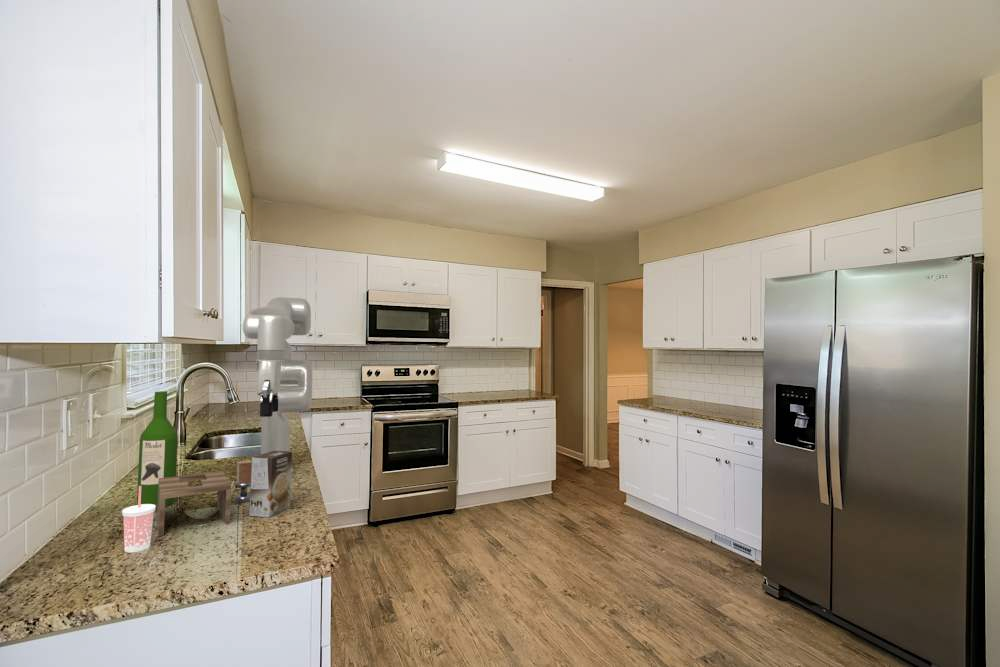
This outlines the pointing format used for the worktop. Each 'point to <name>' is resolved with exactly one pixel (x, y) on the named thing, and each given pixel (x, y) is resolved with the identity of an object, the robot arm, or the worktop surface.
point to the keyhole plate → (194, 492)
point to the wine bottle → (157, 453)
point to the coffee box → (270, 483)
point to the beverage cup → (138, 526)
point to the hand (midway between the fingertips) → (269, 413)
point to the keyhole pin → (243, 480)
